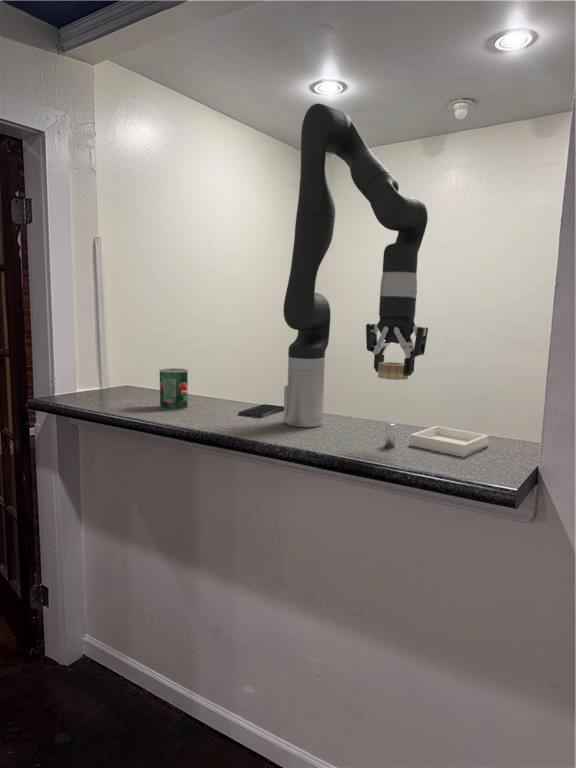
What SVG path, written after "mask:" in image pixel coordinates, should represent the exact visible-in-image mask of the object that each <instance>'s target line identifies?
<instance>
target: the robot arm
mask: <svg viewBox="0 0 576 768" xmlns="http://www.w3.org/2000/svg"><path fill="white" fill-rule="evenodd" d="M301 125H302V126H301V134H300V136H301V137H300V173H299V174H300V176H299V187H298V188H299V190H298V201H297V209H296V214H295V215H296V216H295V224H294V238H293V248H292V257H291V265H290V272H289V277H288V280H287V281H288V282H287V287H286V291H285V296H284V301H283V317H284V321H285V323H286V325H287V326H288V327H289V328H290V329H291V330H294V331H297V336H296V338H295V340H294V341H293V342H292V343H291V344H289V346H288V351H287V352H288V355H287V385H284V391H283V392H284V395H283V396H284V397H283V400H284V401H283V406H284V411H283V423H285V424H287V425H288V426H292V427H297V428H315V427H321V426H322V425H323V422H324V421H323V420H324V418H323V417H324V398H325V397H324V396H325V395H324V393H325V392H324V390H325V389H324V387H325V365H326V364H325V361H326V351H327V348H328V345H329V341H330V340H329V339H330V329H331V328H330V327H331V305H330V303H329V301H328V299H327V298H326V297H325V295H323V294H321V293H318V292H316V291H315V290H316V283H317V275H318V272H319V269H320V266H321V263H322V262H323V261H324V258H325V256H326V254H327V253H328V250H329V248H330V245H331V243H332V240H333V236H334V228H335V219H336V207H335V206H336V205H335V201H334V198H333V195H332V192H331V188H330V186H329V183H328V179H327V174H326V153H329V154H334V155H335V156H337V157H338V158H340V159H341V160H342V161H343V162H344V163H345V164H346V165H347V166H348V167H349V172H350V177H351V179H352V182H353V184H354V185H355V187H356V188H357V190H358V191H360V193H361V194H362V196H363V197H364V198H365V199H366V200H367V201H368V202H369V204H370V207H371V210H372V212H373V214H374V216H375V218H376V220H377V222H378V223H380V224H381V226H383V227H384V228H385V229H386V230H390V231H394V232H397V236H396V240H395V241H394V243H390V244H387V245H386V246H385V247H384V250H383V257H382V258H383V259H382V274H381V280H380V289H379V306H378V316H379V320H378V322H377V323H366V324H365V334H366V335H365V336H366V339H365V340H366V341H365V343H366V350H367V351H368V352H371V353H373V355H374V356H373V357H374V359H373V369H374V370H375V373H378V364H379V362H385V354H384V353H385V351H386V350H387V348H388V346H390V344H392V343H393V344H399V346H400V347H401V350H402V351H403V352H404V355H405V357H404V360H403V361H404V362H403V363H404V376H408V377H409V376H412V374H413V373H414V371H415V360H416V357H420V356H423V355H425V350H426V345H427V338H428V333H429V328H428V326H418V325H416V324H415V317H416V310H417V309H416V307H417V294H418V280H417V279H418V277H417V271H418V255H419V250H420V248H421V245H422V242H423V239H424V235H425V233H426V229H427V224H428V221H429V220H428V219H429V217H428V214H429V213H428V210H427V207H426V204H425V202H424V201H423V200H421V199H419V198H417V197H416V198H415V197H411V196H407V195H404V194H401V193H400V192H399V190H400V189H399V183H398V181H397V179H396V177H394V175H393V174H392V173H391V172H389V170H388V169H387V168H386V167H385V166H384V165H383V164H382V162H381V161H380V160H378V158H377V157H376V156H375V155H374V152H372V151H371V150H370V148H369V146H368V145H367V143H366V142H365V140H364V138H362V136H361V134H360V132H359V131H358V128H357V127H356V125H355V124H354V122H353V121H352V119H351V118H350V116H349V115H348V114H347V113H345V112H344V111H341V110H339V109H336V108H334V107H330V106H328V105H326V104H324V103H313V104H312V105H311V106H310V107H309V108H308V109H307V111H306V112H305V114H304V117H303V120H302V124H301ZM379 332H380V333H379ZM377 333H379V334H380V335H379V337H378V334H377ZM413 333H414V336H415V339H414V340H415V341H413V338H412V335H413Z"/></svg>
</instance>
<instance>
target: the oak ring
mask: <svg viewBox="0 0 576 768" xmlns="http://www.w3.org/2000/svg"><path fill="white" fill-rule="evenodd" d="M377 378H379V379H383V380H384V379H385V380H394V381H401V380H402V381H403V380H405V381H406V380H408V379H409V376H404V362H398V361H384V362H379V364H378V372H377Z"/></svg>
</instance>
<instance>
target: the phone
mask: <svg viewBox="0 0 576 768" xmlns="http://www.w3.org/2000/svg"><path fill="white" fill-rule="evenodd" d="M280 412H284V405H283V406H282V405H274V404H266V403H264V404H260V405H257V406H254V407H251V408H250V407H249V408H247V409H244V410H240V411H238V416H240V417H241V416H242V417H248V418H249V417H250V418H255V419H256V418H257V419H264V418H267V417H269V416H273V415H275V414H279V413H280Z"/></svg>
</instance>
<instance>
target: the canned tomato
mask: <svg viewBox="0 0 576 768" xmlns="http://www.w3.org/2000/svg"><path fill="white" fill-rule="evenodd" d="M158 371H159V409H160V410H163V411H168V412H169V411H170V412H171V411H172V412H173V411H174V412H176V411H184V410H187V409H188V406H189V405H188V404H189V403H188V402H189V401H188V400H189V396H188V395H189V394H188V393H189V392H188V391H189V390H188V389H189V388H188V387H189V385H188V383H189V382H188V378H189V377H188V375H189V374H188V373H189V372H188V369H185V368H161V369H159V370H158Z"/></svg>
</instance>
